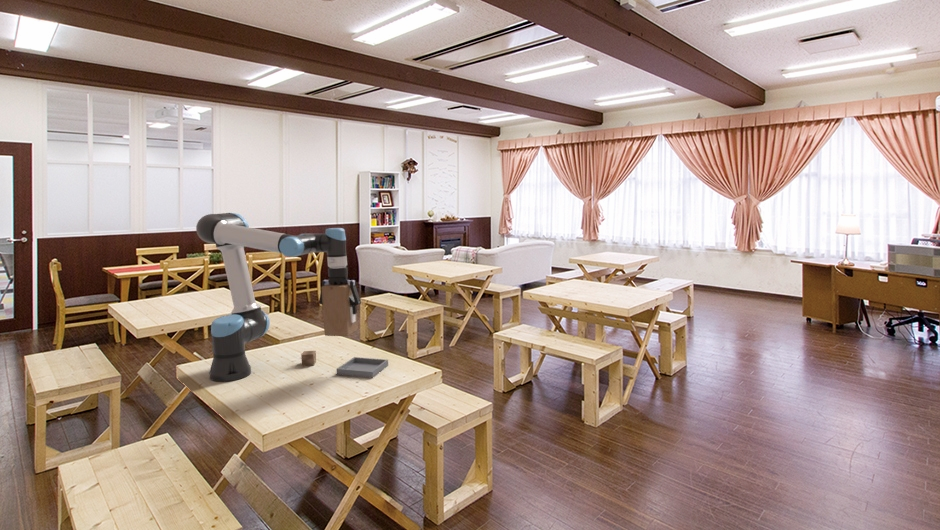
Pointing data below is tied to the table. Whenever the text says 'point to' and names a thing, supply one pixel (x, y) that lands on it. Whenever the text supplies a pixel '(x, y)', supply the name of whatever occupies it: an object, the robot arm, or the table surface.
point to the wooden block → (337, 310)
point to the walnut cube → (308, 358)
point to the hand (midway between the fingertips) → (341, 321)
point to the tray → (362, 367)
